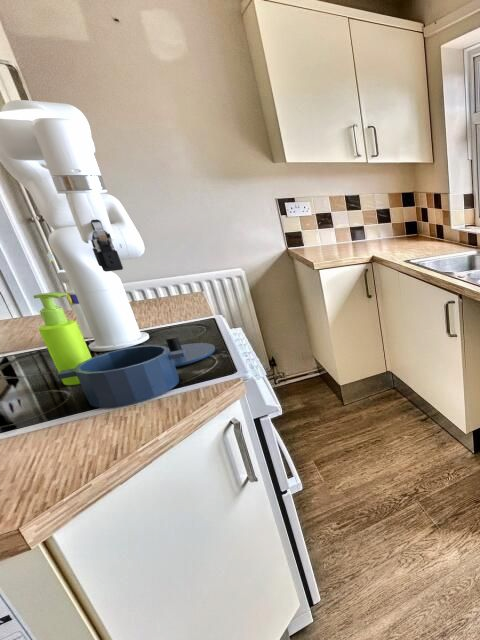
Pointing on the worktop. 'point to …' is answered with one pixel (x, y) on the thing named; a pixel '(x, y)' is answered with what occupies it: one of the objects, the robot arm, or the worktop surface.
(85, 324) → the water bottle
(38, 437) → the worktop surface
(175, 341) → the pan lid
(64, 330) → the soap dispenser
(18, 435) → the worktop surface
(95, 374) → the pan
